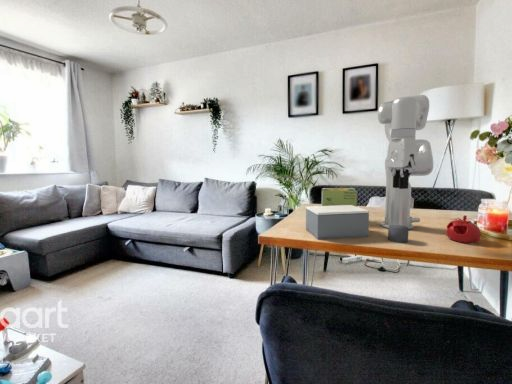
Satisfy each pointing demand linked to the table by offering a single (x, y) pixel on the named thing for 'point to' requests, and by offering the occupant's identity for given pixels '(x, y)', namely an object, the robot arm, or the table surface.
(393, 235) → the tape roll
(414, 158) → the robot arm
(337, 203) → the protein box
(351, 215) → the storage box
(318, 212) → the box lid
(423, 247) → the table surface
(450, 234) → the pomegranate
